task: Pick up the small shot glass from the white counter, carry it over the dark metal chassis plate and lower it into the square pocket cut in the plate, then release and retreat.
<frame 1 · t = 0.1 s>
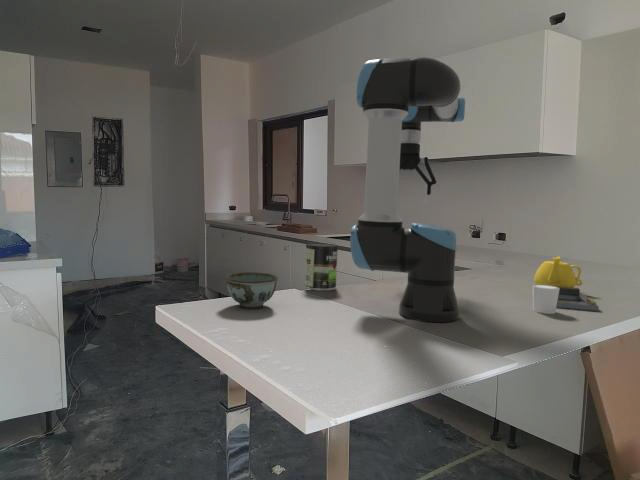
hand: (406, 203, 173), 28 cm above the counter, fingers open, 13 cm apart
bowl: (251, 307, 127), on the counter
teapot: (556, 291, 166), on the counter
coffee can: (320, 288, 156), on the counter
chassis plate: (564, 302, 147), on the counter
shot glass: (543, 312, 134), on the counter
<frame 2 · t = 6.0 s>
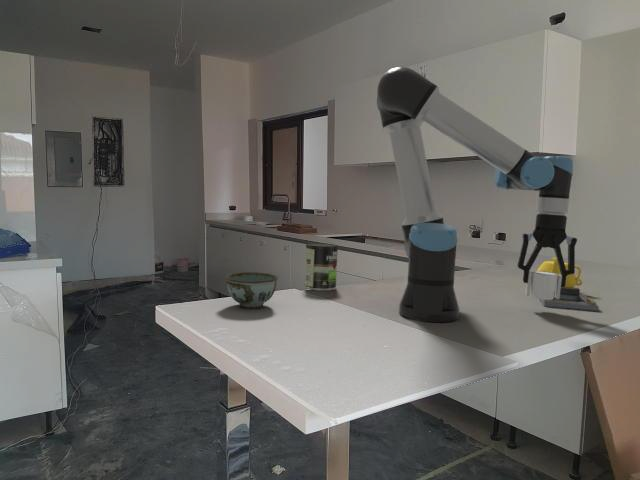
hand: (542, 296, 134), 4 cm above the counter, fingers closed on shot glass, 7 cm apart
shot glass: (542, 298, 134), point 4 cm above the counter, touching gripper
everything else where it was.
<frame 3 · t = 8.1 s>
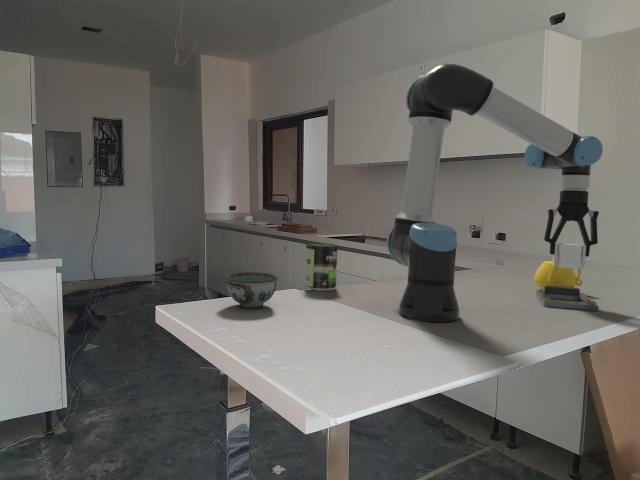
hand: (568, 266, 146), 11 cm above the counter, fingers closed on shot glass, 7 cm apart
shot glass: (568, 267, 146), point 11 cm above the counter, touching gripper
everything else where it was.
when the fingers open (2 cm above the counter, at t = 10.4 s): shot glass drops 2 cm, resting in chassis plate.
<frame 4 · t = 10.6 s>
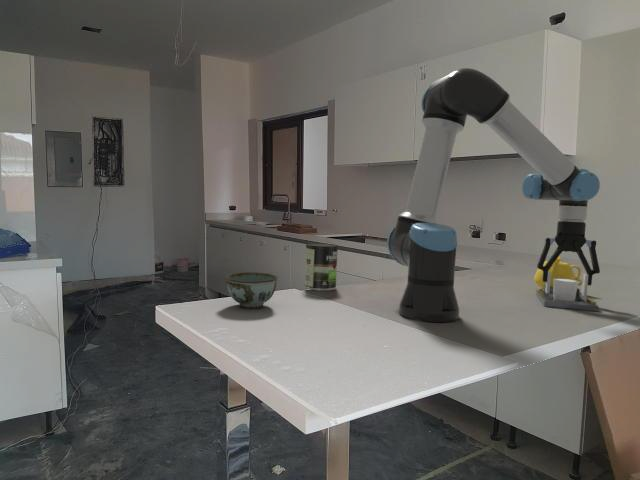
hand: (565, 294, 147), 3 cm above the counter, fingers open, 9 cm apart
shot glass: (563, 303, 147), resting in chassis plate
everything else where it was.
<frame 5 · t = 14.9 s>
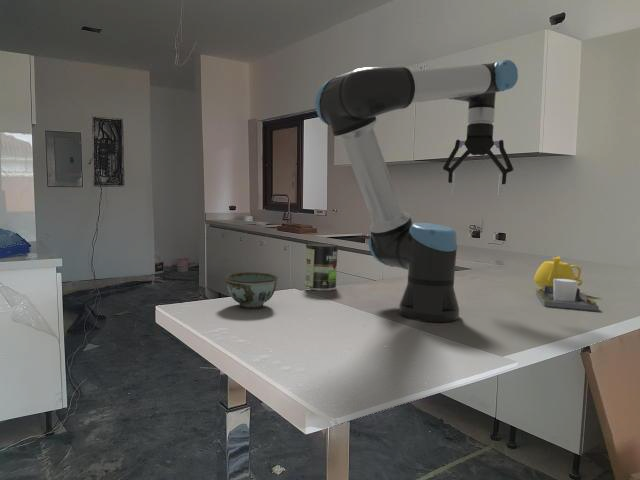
hand: (475, 194, 148), 32 cm above the counter, fingers open, 13 cm apart
nothing on the counter moved.
at the end: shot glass 0.3 cm off-centre on the chassis plate, point 0.0 cm above the chassis plate's base; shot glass tilted 0°; the gripper is holding nothing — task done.
